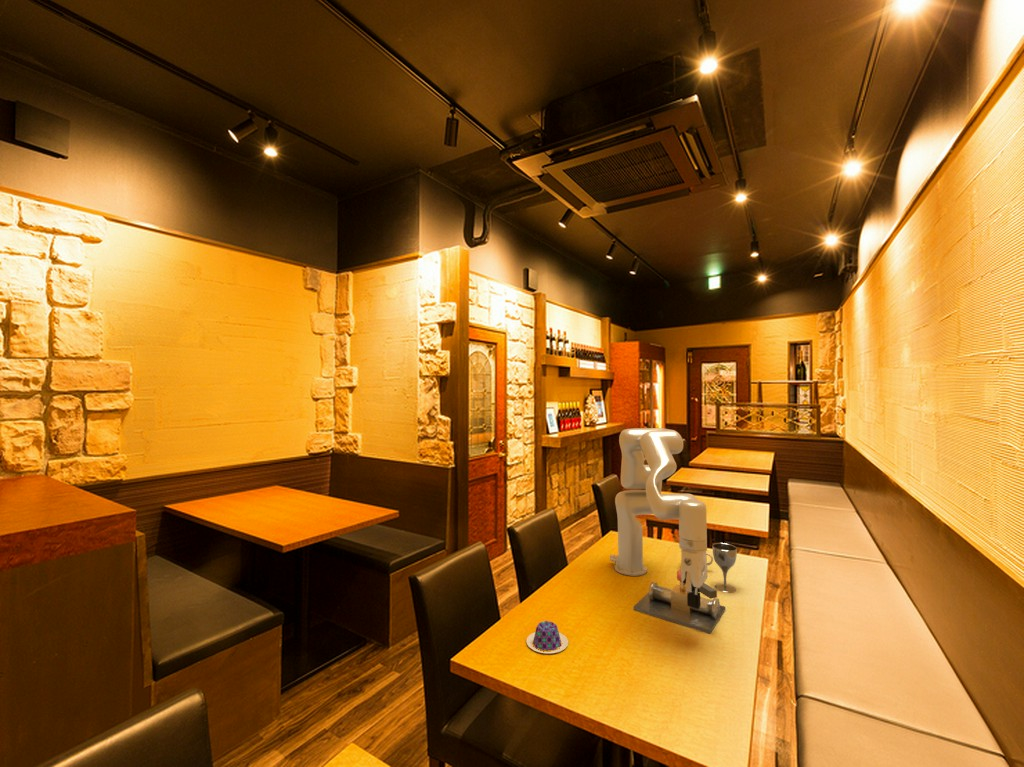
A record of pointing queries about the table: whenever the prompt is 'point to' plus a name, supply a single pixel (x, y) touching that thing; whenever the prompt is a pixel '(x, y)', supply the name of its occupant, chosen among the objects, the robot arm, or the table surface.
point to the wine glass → (724, 563)
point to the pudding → (547, 638)
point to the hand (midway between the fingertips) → (693, 606)
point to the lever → (702, 588)
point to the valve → (680, 607)
